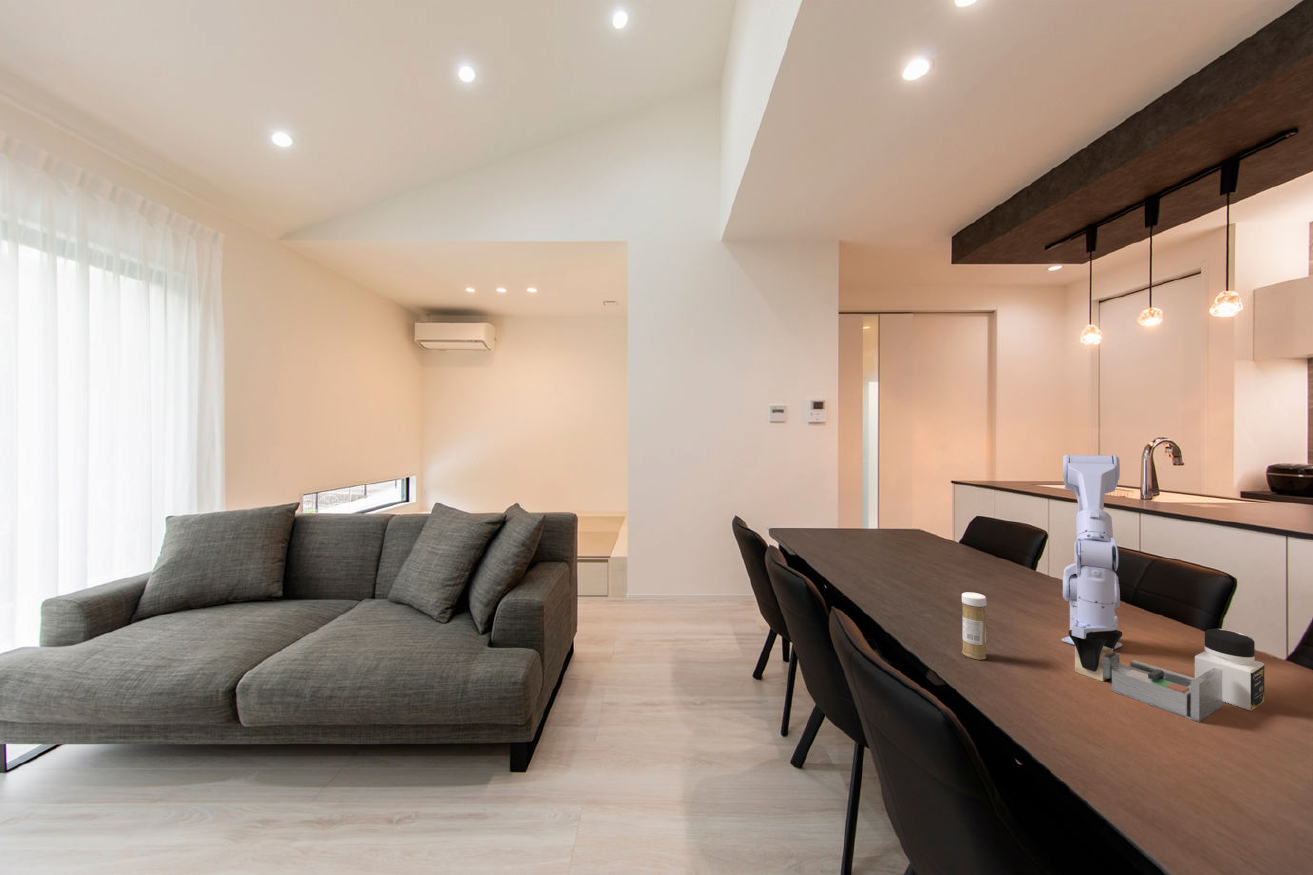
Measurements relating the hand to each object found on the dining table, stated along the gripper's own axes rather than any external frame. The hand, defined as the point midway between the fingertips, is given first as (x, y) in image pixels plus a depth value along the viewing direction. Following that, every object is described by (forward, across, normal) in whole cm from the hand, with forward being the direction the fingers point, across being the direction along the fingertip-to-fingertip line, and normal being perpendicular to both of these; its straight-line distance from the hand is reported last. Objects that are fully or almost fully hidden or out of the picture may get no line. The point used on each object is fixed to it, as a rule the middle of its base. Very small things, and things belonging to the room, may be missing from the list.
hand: (1095, 666), depth 100 cm
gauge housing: (+2, 0, +10) cm, 10 cm away
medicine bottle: (+2, -11, +16) cm, 19 cm away
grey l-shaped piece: (+1, +2, +6) cm, 6 cm away
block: (+2, 0, 0) cm, 2 cm away
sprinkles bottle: (+2, +13, -16) cm, 21 cm away
